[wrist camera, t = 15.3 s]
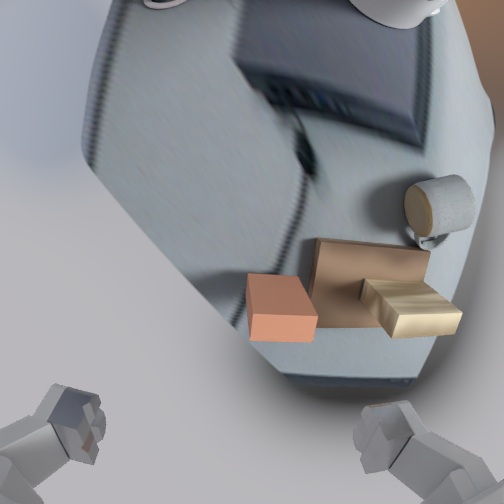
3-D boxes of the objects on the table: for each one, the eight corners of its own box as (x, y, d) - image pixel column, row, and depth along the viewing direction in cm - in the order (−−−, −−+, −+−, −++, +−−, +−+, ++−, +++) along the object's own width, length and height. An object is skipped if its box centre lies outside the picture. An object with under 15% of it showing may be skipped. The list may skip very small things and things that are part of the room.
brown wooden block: (316, 237, 39) (349, 272, 28) (423, 247, 41) (473, 278, 29) (302, 320, 43) (324, 373, 31) (403, 320, 44) (442, 363, 33)
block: (247, 273, 38) (253, 313, 28) (297, 276, 38) (318, 316, 29) (245, 295, 39) (250, 340, 29) (294, 298, 39) (312, 342, 30)
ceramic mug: (396, 181, 38) (428, 189, 30) (441, 171, 37) (475, 178, 30) (405, 253, 41) (433, 273, 34) (447, 239, 41) (477, 256, 34)
